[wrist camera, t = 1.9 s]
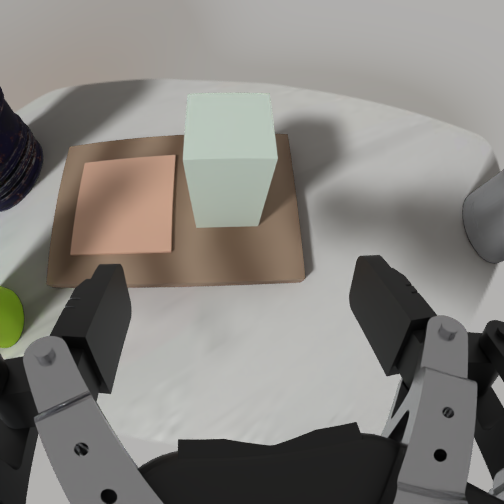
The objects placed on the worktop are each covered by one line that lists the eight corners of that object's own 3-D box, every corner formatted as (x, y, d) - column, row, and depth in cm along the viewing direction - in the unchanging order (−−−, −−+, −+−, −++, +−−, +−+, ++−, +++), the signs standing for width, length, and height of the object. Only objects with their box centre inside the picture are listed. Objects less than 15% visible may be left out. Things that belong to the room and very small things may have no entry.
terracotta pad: (175, 156, 27) (175, 154, 27) (171, 252, 24) (171, 251, 24) (85, 164, 26) (84, 162, 26) (71, 255, 24) (70, 254, 23)
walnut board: (284, 143, 30) (287, 134, 29) (300, 282, 26) (305, 278, 25) (74, 154, 28) (69, 146, 27) (54, 287, 24) (46, 284, 23)
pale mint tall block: (254, 173, 27) (269, 93, 18) (258, 226, 26) (277, 158, 16) (197, 174, 27) (187, 94, 17) (196, 227, 25) (182, 159, 16)
